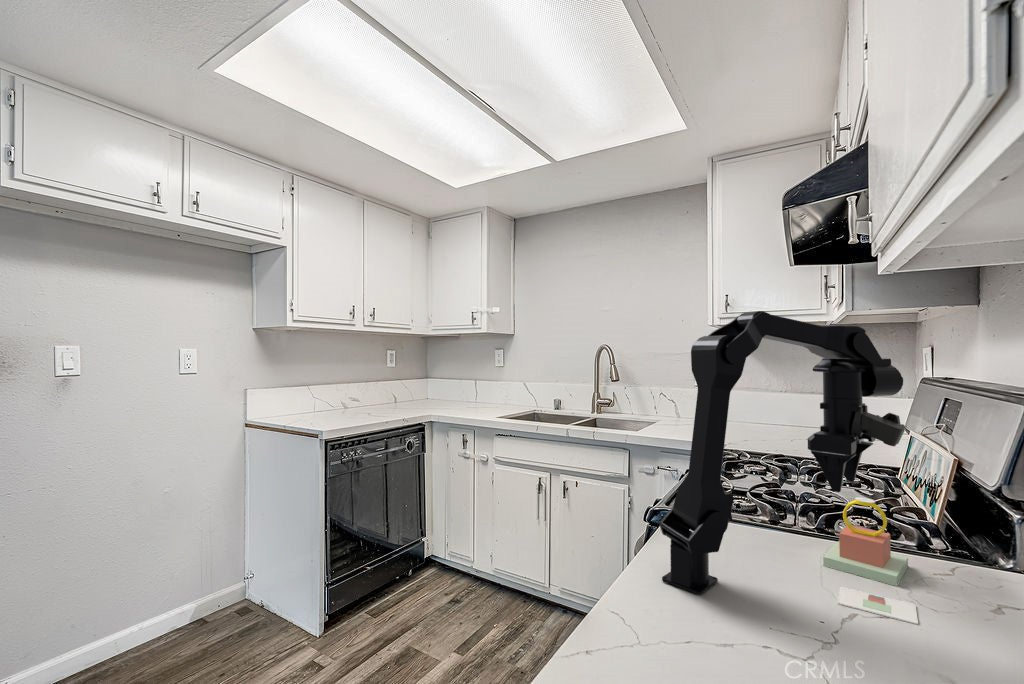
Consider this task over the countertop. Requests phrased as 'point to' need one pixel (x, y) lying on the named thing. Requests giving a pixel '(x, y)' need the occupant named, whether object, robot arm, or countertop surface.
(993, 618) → the countertop surface
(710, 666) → the countertop surface
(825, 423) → the robot arm
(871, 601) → the page
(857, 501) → the watch
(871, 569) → the baseplate
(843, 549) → the brick
